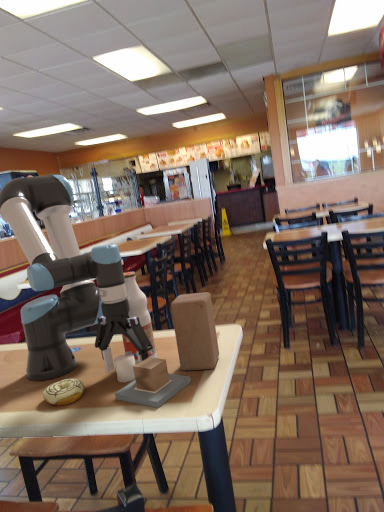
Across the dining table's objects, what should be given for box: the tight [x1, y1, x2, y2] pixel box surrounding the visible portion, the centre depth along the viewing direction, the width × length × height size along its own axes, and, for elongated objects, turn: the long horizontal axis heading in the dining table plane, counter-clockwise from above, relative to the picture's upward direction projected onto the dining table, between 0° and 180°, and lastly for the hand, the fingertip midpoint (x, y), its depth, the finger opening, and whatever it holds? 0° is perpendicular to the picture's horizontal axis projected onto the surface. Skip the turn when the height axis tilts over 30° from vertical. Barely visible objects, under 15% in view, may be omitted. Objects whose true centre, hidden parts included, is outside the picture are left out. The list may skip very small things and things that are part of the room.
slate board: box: [114, 372, 192, 409], centre depth 109 cm, size 14×14×2 cm
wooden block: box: [170, 291, 220, 371], centre depth 120 cm, size 10×10×20 cm
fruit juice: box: [121, 271, 158, 365], centre depth 129 cm, size 9×9×28 cm
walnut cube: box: [133, 357, 169, 392], centre depth 108 cm, size 6×6×6 cm
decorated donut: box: [42, 378, 85, 407], centre depth 112 cm, size 10×11×4 cm
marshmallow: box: [113, 353, 135, 383], centre depth 119 cm, size 6×6×6 cm
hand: (127, 373), depth 119 cm, fingers open, 13 cm apart
